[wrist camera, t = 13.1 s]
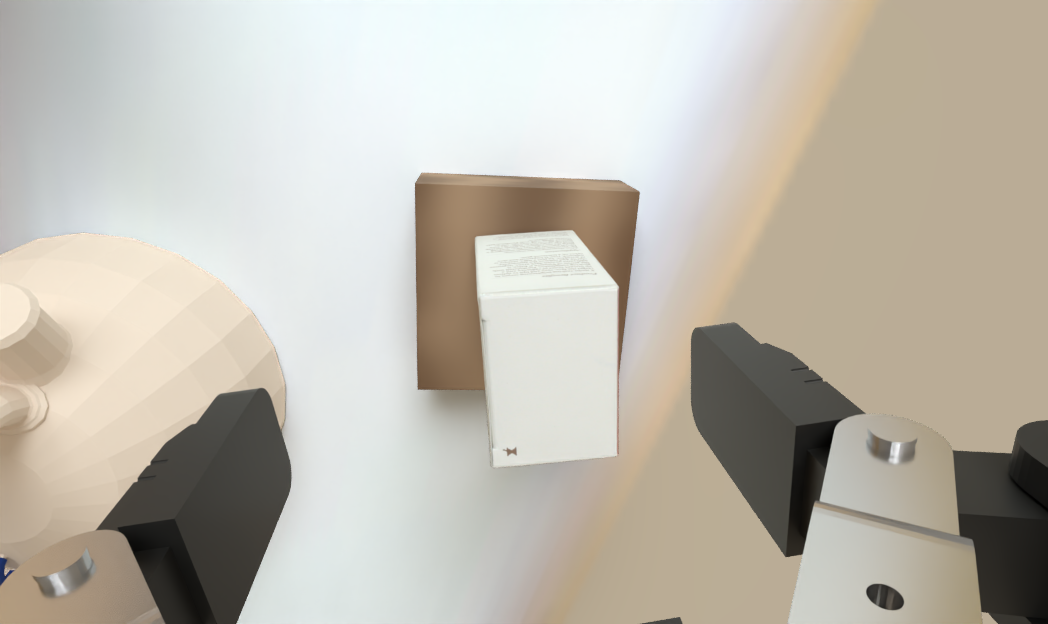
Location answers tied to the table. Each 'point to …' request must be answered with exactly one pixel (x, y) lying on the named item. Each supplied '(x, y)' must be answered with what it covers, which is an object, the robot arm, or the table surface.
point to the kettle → (107, 375)
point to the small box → (547, 348)
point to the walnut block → (493, 209)
